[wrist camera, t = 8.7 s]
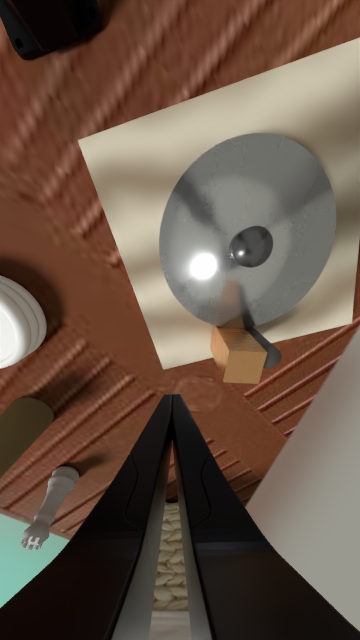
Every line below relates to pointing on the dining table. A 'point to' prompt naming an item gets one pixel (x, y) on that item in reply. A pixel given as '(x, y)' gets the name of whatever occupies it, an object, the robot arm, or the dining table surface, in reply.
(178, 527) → the storage basket
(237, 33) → the dining table surface
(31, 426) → the cork
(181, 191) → the flange plate
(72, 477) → the white chess piece
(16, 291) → the coaster
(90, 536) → the robot arm
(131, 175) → the birch base board
